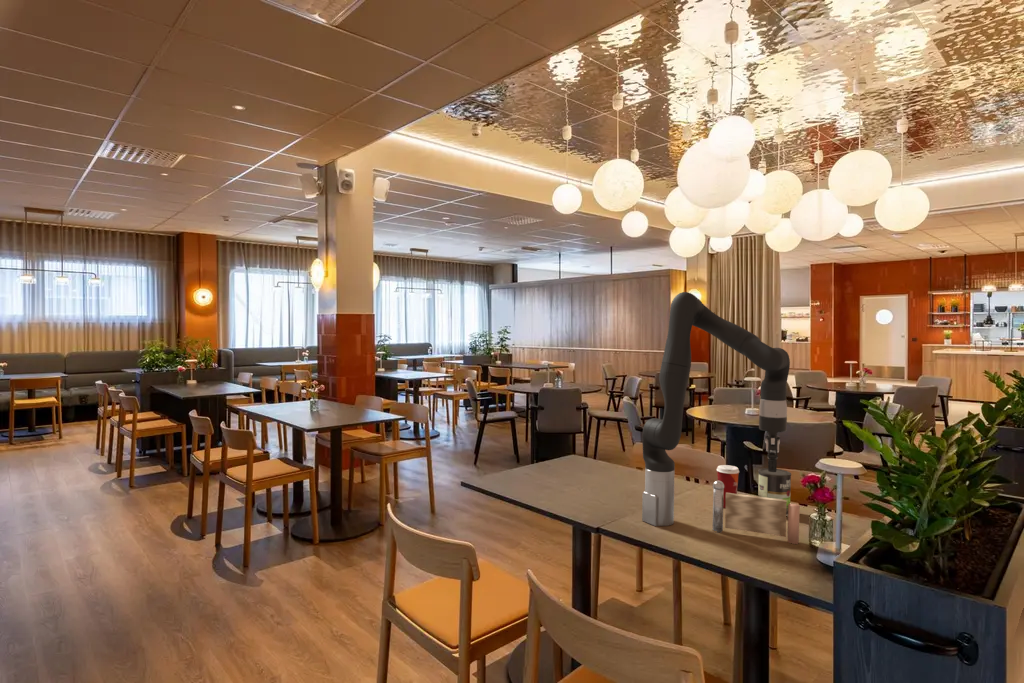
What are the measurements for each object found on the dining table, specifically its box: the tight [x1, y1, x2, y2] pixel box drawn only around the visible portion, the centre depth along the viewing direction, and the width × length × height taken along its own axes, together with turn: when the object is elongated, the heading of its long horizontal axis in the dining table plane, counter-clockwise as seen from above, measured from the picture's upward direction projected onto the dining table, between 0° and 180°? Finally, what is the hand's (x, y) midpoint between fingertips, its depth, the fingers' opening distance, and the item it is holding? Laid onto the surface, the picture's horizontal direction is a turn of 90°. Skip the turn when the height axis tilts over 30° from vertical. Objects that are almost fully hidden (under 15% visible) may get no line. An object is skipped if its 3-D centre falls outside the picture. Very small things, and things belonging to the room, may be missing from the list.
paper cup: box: [716, 464, 740, 509], centre depth 198 cm, size 8×8×14 cm
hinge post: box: [712, 479, 724, 533], centre depth 174 cm, size 3×3×16 cm
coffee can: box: [757, 467, 792, 517], centre depth 192 cm, size 10×10×14 cm
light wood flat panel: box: [724, 493, 787, 538], centre depth 169 cm, size 17×2×10 cm, turn 65°
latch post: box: [787, 503, 801, 545], centre depth 165 cm, size 3×3×11 cm
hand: (772, 468), depth 168 cm, fingers open, 8 cm apart
